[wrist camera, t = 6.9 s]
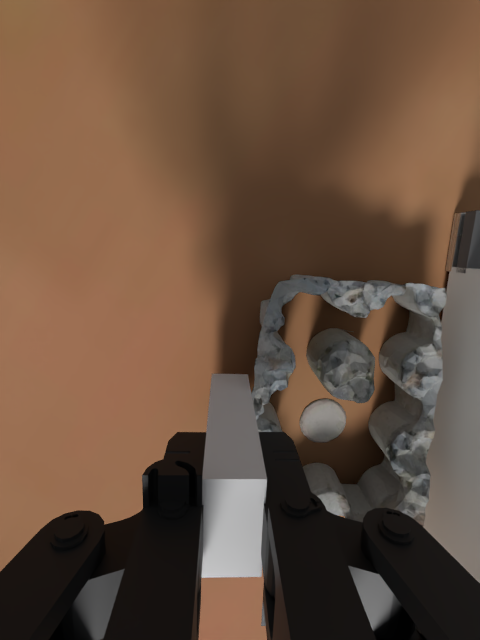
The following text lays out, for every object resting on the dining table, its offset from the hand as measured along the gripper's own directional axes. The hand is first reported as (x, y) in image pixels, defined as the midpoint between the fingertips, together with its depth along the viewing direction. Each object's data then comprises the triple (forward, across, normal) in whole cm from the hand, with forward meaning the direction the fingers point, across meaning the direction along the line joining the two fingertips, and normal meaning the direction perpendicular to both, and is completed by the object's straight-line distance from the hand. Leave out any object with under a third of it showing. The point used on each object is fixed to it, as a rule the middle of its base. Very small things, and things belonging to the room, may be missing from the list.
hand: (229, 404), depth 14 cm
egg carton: (+2, -4, 0) cm, 5 cm away
